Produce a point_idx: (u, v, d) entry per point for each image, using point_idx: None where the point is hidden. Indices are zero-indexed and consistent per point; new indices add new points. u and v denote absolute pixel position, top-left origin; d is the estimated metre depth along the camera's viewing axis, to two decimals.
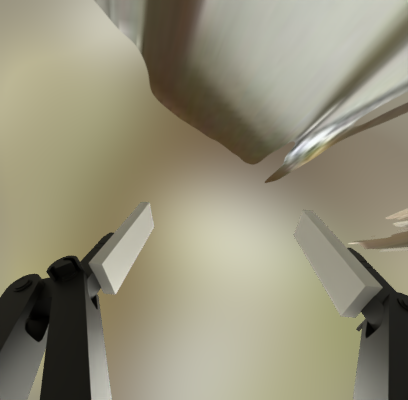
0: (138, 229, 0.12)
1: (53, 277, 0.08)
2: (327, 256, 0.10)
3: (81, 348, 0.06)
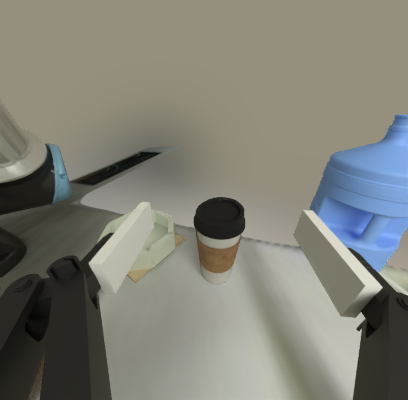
0: (138, 229, 0.12)
1: (53, 277, 0.08)
2: (327, 256, 0.10)
3: (81, 348, 0.06)
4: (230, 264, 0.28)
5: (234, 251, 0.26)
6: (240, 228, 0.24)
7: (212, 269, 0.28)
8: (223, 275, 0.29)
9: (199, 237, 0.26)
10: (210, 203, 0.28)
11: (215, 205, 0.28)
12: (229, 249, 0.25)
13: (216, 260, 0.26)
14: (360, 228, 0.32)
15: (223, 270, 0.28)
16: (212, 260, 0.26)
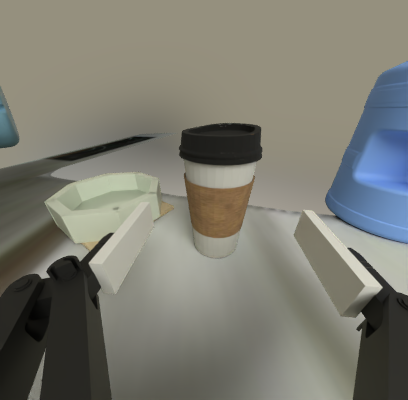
0: (138, 229, 0.12)
1: (53, 277, 0.08)
2: (327, 256, 0.10)
3: (81, 348, 0.06)
4: (237, 224, 0.18)
5: (244, 198, 0.16)
6: (256, 151, 0.14)
7: (209, 231, 0.18)
8: (226, 243, 0.19)
9: (188, 176, 0.16)
10: (206, 130, 0.18)
11: (214, 132, 0.18)
12: (237, 191, 0.15)
13: (216, 212, 0.16)
14: None
15: (227, 233, 0.18)
16: (209, 215, 0.17)
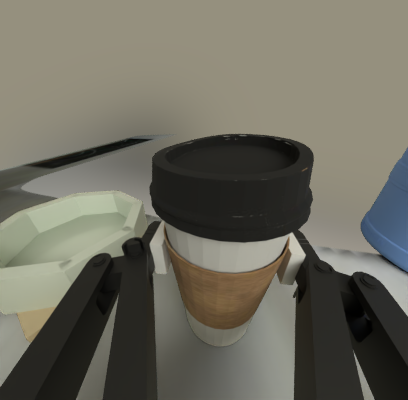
0: None
1: (125, 252, 0.09)
2: None
3: (141, 323, 0.06)
4: (256, 307, 0.11)
5: (273, 276, 0.09)
6: (307, 201, 0.07)
7: (209, 321, 0.10)
8: (237, 331, 0.12)
9: (168, 235, 0.09)
10: (203, 146, 0.11)
11: (216, 151, 0.10)
12: (263, 273, 0.08)
13: (220, 302, 0.09)
14: None
15: (238, 321, 0.11)
16: (208, 303, 0.09)
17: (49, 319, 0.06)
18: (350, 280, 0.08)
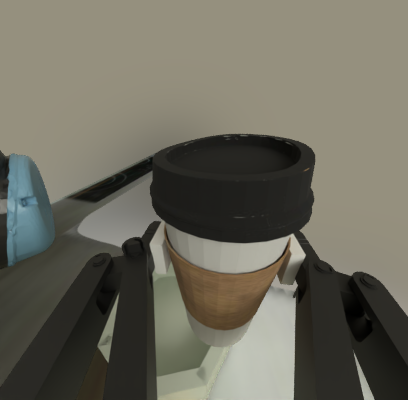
0: None
1: (125, 252, 0.09)
2: None
3: (141, 323, 0.06)
4: (257, 307, 0.10)
5: (273, 277, 0.09)
6: (308, 201, 0.07)
7: (209, 322, 0.10)
8: (237, 332, 0.11)
9: (169, 235, 0.09)
10: (204, 146, 0.11)
11: (216, 151, 0.10)
12: (264, 273, 0.08)
13: (220, 303, 0.09)
14: None
15: (239, 322, 0.11)
16: (208, 304, 0.09)
17: (49, 319, 0.06)
18: (350, 280, 0.08)
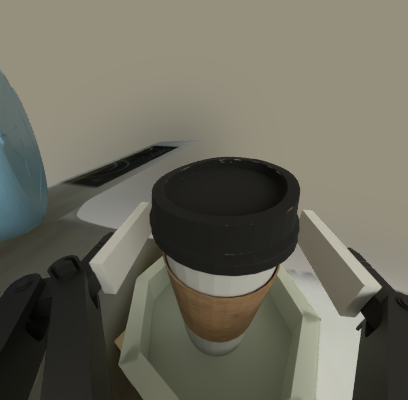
0: (138, 229, 0.12)
1: (54, 277, 0.08)
2: (327, 256, 0.10)
3: (82, 348, 0.06)
4: (250, 321, 0.11)
5: (264, 295, 0.09)
6: (293, 233, 0.07)
7: (205, 335, 0.11)
8: (232, 343, 0.12)
9: (167, 258, 0.09)
10: (200, 170, 0.11)
11: (212, 174, 0.11)
12: (254, 295, 0.08)
13: (215, 320, 0.09)
14: None
15: (233, 335, 0.11)
16: (204, 320, 0.10)
17: None
18: None
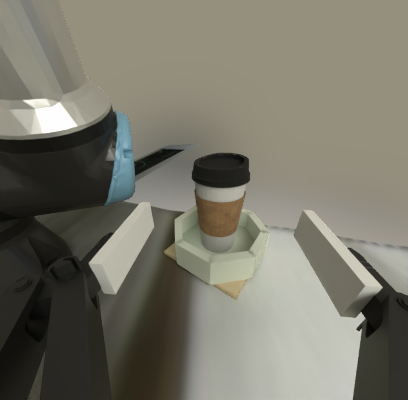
0: (138, 229, 0.12)
1: (53, 277, 0.08)
2: (327, 256, 0.10)
3: (81, 348, 0.06)
4: (233, 226, 0.25)
5: (238, 208, 0.23)
6: (245, 177, 0.21)
7: (213, 232, 0.24)
8: (226, 241, 0.26)
9: (198, 192, 0.23)
10: (210, 158, 0.25)
11: (216, 160, 0.25)
12: (233, 204, 0.22)
13: (218, 218, 0.23)
14: None
15: (226, 233, 0.25)
16: (213, 220, 0.23)
17: None
18: None
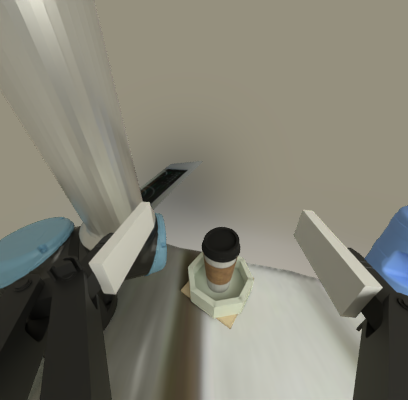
0: (138, 229, 0.12)
1: (53, 277, 0.08)
2: (327, 256, 0.10)
3: (81, 348, 0.06)
4: (229, 278, 0.37)
5: (232, 269, 0.35)
6: (236, 253, 0.33)
7: (215, 282, 0.37)
8: (224, 286, 0.38)
9: (206, 259, 0.35)
10: (214, 231, 0.37)
11: (217, 234, 0.37)
12: (228, 268, 0.34)
13: (219, 275, 0.35)
14: None
15: (224, 282, 0.37)
16: (215, 276, 0.35)
17: None
18: None
